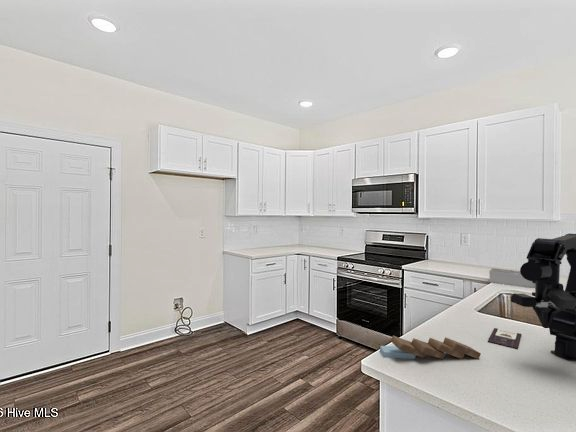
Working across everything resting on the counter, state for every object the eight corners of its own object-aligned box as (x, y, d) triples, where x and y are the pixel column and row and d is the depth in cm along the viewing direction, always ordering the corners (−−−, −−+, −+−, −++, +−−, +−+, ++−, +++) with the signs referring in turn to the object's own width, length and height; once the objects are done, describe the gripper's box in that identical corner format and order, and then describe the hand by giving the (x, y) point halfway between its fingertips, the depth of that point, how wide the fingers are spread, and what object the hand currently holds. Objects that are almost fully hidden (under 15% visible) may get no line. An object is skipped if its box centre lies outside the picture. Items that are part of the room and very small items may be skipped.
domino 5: (469, 346, 106) (445, 337, 105) (480, 353, 101) (455, 343, 100) (467, 352, 106) (443, 342, 105) (478, 359, 101) (452, 349, 100)
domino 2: (416, 344, 105) (393, 335, 102) (426, 352, 100) (401, 343, 98) (414, 349, 105) (390, 341, 102) (423, 357, 100) (399, 349, 98)
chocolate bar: (487, 340, 116) (494, 327, 129) (487, 343, 116) (494, 330, 129) (517, 348, 110) (521, 333, 124) (517, 350, 110) (521, 336, 124)
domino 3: (433, 345, 105) (413, 338, 102) (445, 353, 101) (424, 346, 97) (431, 350, 105) (410, 343, 102) (443, 359, 101) (421, 352, 97)
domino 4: (453, 346, 106) (429, 337, 104) (464, 353, 101) (439, 344, 99) (451, 352, 106) (427, 343, 104) (462, 359, 101) (437, 349, 99)
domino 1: (410, 347, 106) (380, 345, 106) (415, 353, 101) (384, 352, 101) (409, 352, 106) (380, 351, 106) (415, 359, 101) (383, 358, 101)
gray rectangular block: (491, 279, 235) (492, 268, 235) (539, 285, 217) (539, 273, 217) (488, 282, 222) (489, 270, 222) (539, 290, 204) (539, 276, 204)
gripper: (537, 283, 90) (535, 337, 90) (602, 285, 90) (600, 339, 90) (510, 275, 101) (508, 323, 101) (568, 277, 101) (566, 325, 101)
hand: (545, 327), depth 98 cm, fingers closed
